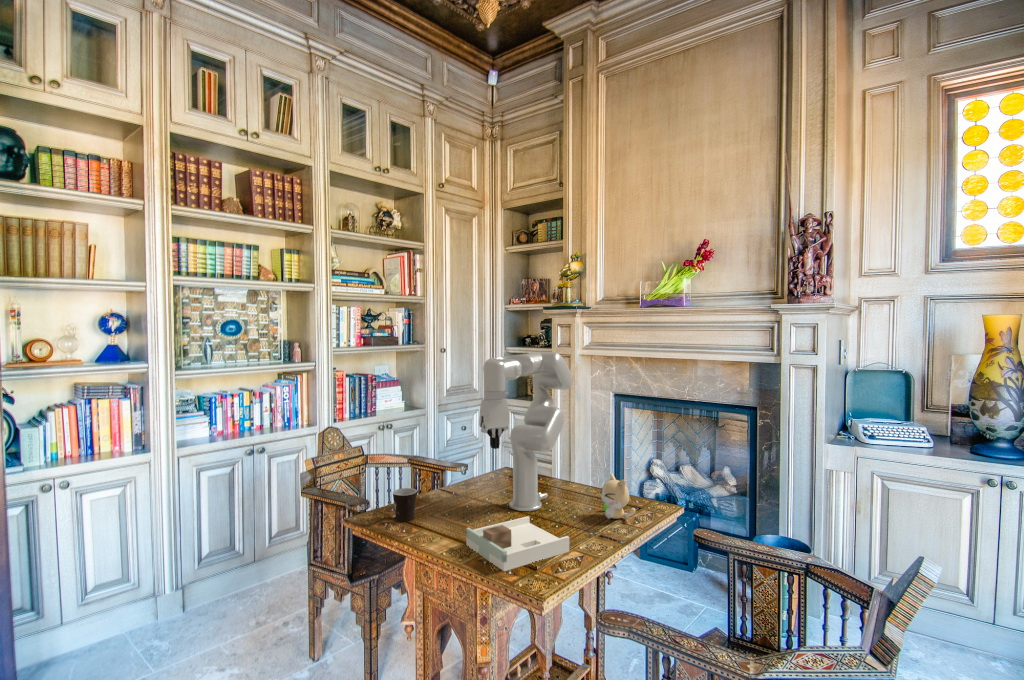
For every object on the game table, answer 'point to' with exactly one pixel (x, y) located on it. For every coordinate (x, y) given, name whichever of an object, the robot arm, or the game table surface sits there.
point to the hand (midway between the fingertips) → (494, 447)
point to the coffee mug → (404, 504)
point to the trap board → (517, 544)
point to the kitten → (615, 498)
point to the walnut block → (498, 536)
